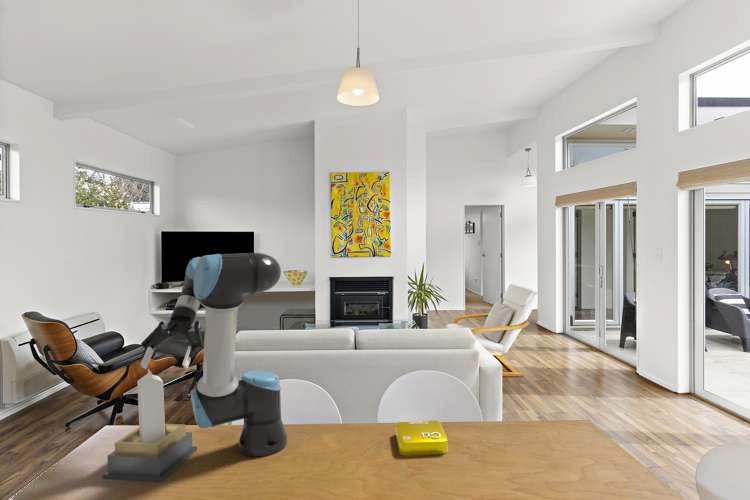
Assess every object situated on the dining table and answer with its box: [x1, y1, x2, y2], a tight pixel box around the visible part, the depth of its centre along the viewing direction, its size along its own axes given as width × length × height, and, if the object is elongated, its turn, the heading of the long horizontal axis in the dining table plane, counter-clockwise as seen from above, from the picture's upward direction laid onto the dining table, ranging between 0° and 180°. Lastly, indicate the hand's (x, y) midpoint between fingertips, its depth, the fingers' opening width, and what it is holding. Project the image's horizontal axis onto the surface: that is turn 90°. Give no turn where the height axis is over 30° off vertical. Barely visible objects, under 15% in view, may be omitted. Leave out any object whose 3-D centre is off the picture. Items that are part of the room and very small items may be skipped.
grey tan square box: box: [102, 423, 198, 483], centre depth 128 cm, size 18×18×9 cm
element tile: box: [395, 420, 449, 457], centre depth 136 cm, size 15×15×5 cm
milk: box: [137, 368, 166, 443], centre depth 128 cm, size 6×6×22 cm
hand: (163, 366), depth 136 cm, fingers open, 13 cm apart
